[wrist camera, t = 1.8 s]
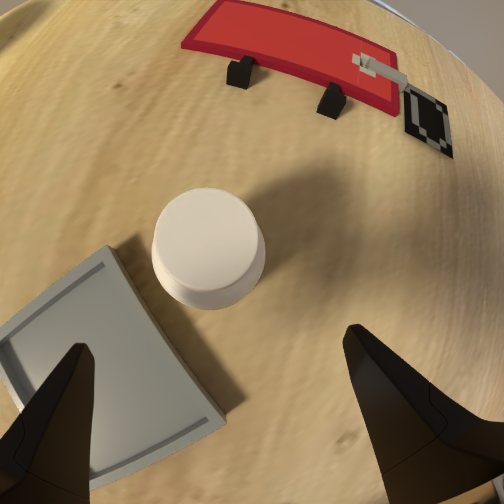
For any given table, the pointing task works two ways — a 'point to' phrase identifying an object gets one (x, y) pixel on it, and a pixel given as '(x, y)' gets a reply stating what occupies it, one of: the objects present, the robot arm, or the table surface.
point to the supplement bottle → (208, 249)
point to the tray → (110, 367)
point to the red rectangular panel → (318, 63)
